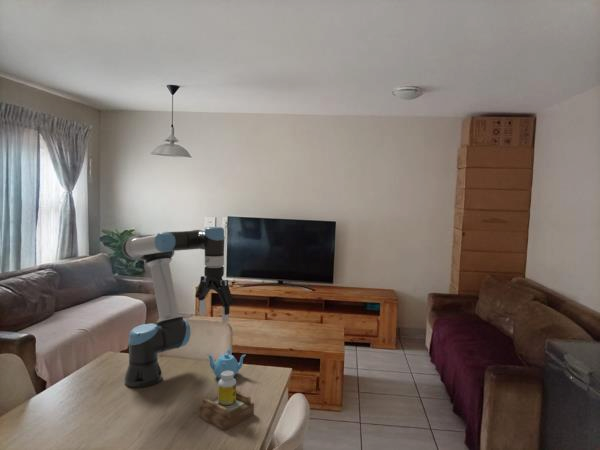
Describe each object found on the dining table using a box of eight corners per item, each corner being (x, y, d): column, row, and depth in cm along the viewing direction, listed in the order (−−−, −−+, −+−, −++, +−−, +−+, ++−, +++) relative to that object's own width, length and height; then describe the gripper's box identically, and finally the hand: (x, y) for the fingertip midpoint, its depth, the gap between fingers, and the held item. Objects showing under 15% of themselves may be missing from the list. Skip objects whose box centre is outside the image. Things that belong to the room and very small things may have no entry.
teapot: (229, 367, 191) (229, 346, 190) (247, 376, 182) (247, 354, 181) (206, 375, 181) (206, 353, 181) (223, 385, 172) (223, 362, 172)
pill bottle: (232, 409, 145) (232, 377, 144) (215, 407, 146) (215, 375, 145) (238, 400, 151) (238, 370, 150) (222, 398, 152) (222, 368, 152)
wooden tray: (199, 416, 148) (199, 399, 147) (228, 401, 159) (228, 385, 158) (225, 430, 139) (225, 412, 139) (253, 414, 150) (254, 397, 150)
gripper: (186, 263, 164) (186, 314, 165) (228, 271, 149) (227, 327, 150) (201, 261, 170) (201, 311, 171) (243, 268, 155) (242, 323, 156)
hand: (213, 319), depth 161 cm, fingers open, 13 cm apart
